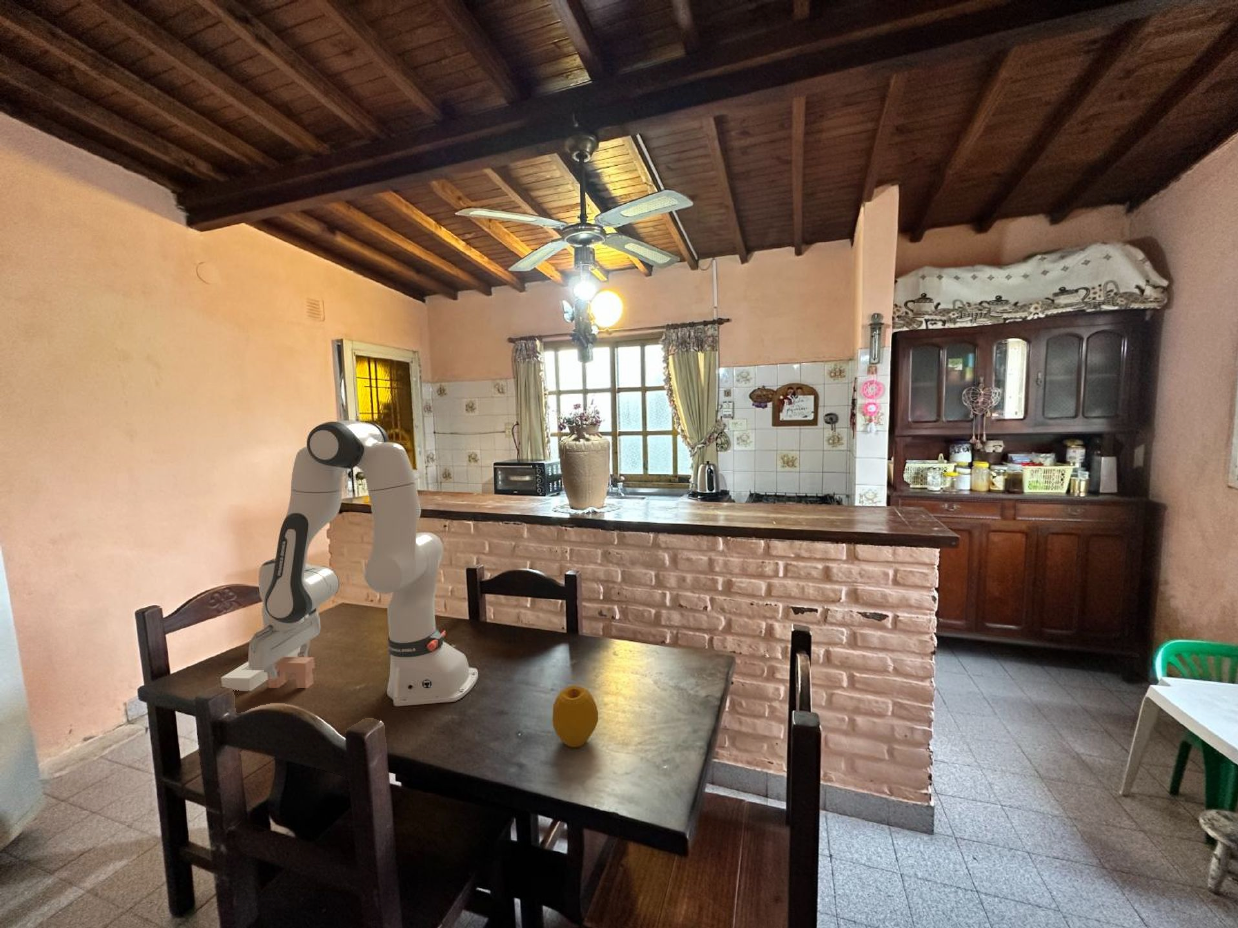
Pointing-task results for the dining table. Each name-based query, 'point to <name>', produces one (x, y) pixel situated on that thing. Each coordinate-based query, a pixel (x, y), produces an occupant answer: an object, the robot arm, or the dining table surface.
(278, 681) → the prong clip
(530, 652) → the dining table surface
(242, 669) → the slot rail
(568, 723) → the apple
